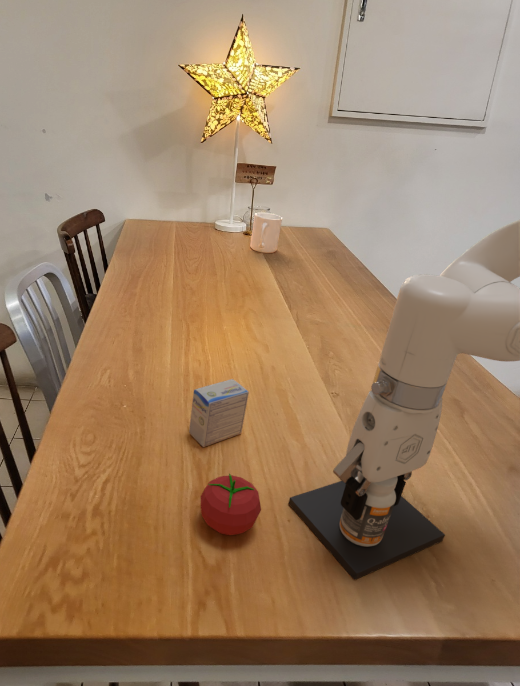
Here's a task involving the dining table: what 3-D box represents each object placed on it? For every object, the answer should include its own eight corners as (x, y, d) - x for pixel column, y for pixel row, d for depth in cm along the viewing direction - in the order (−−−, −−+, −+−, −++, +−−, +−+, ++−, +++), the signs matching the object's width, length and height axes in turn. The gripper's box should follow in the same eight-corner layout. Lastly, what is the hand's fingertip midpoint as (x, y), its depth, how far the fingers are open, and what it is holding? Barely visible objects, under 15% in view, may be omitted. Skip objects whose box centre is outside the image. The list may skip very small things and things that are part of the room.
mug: (275, 247, 192) (281, 214, 187) (278, 257, 182) (284, 222, 176) (249, 243, 192) (254, 211, 186) (250, 253, 181) (255, 219, 176)
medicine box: (226, 420, 92) (232, 377, 88) (242, 434, 89) (249, 390, 85) (187, 433, 88) (193, 388, 84) (203, 448, 85) (209, 402, 81)
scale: (371, 476, 84) (376, 460, 82) (442, 540, 73) (449, 524, 72) (287, 503, 76) (291, 487, 75) (354, 580, 66) (360, 563, 64)
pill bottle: (366, 556, 68) (386, 496, 63) (329, 528, 71) (346, 469, 67) (390, 535, 71) (410, 477, 67) (354, 509, 75) (371, 453, 70)
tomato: (191, 538, 68) (197, 492, 65) (203, 497, 75) (209, 453, 72) (253, 553, 67) (262, 507, 64) (260, 510, 74) (269, 466, 71)
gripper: (375, 417, 54) (336, 546, 62) (484, 388, 62) (437, 506, 70) (328, 380, 59) (298, 503, 68) (433, 358, 68) (395, 471, 76)
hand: (369, 504), depth 69 cm, fingers closed on pill bottle, 5 cm apart
